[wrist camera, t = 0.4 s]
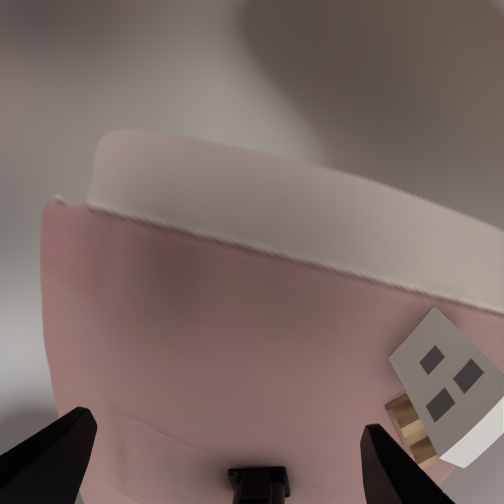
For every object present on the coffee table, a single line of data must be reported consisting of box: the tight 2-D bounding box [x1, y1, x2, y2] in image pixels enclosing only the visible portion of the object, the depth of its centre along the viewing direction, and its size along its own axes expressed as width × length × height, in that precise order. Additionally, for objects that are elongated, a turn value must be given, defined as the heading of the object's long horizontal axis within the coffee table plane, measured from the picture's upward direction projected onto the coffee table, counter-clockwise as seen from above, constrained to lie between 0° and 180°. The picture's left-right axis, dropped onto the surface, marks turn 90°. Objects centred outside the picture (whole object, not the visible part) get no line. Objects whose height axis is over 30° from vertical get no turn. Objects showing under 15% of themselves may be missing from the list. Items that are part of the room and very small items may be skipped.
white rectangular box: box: [388, 306, 504, 468], centre depth 18 cm, size 6×4×12 cm, turn 144°
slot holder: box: [385, 394, 441, 470], centre depth 24 cm, size 9×9×4 cm
